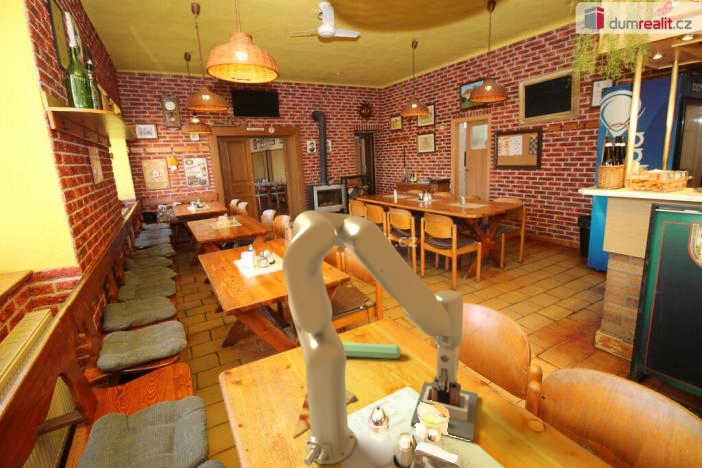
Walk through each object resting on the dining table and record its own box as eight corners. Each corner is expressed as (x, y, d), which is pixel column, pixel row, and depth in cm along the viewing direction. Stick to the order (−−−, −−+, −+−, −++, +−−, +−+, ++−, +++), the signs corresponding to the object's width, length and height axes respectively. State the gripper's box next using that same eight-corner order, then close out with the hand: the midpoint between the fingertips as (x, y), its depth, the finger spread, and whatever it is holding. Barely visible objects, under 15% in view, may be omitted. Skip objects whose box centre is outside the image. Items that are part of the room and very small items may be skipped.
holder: (472, 442, 87) (473, 429, 86) (410, 426, 94) (410, 412, 93) (477, 396, 103) (478, 384, 102) (424, 384, 110) (424, 373, 109)
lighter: (459, 404, 99) (460, 374, 96) (460, 413, 96) (462, 382, 93) (430, 401, 100) (431, 372, 98) (431, 410, 97) (431, 380, 95)
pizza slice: (266, 408, 103) (265, 402, 103) (326, 376, 117) (325, 371, 116) (293, 439, 91) (292, 433, 91) (356, 399, 105) (356, 394, 105)
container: (400, 340, 125) (333, 337, 129) (401, 354, 120) (331, 350, 124) (400, 350, 129) (335, 346, 132) (400, 364, 124) (332, 360, 127)
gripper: (458, 356, 84) (456, 415, 88) (465, 323, 99) (463, 375, 103) (427, 350, 87) (426, 408, 91) (438, 319, 102) (437, 370, 106)
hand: (446, 390), depth 97 cm, fingers open, 9 cm apart
